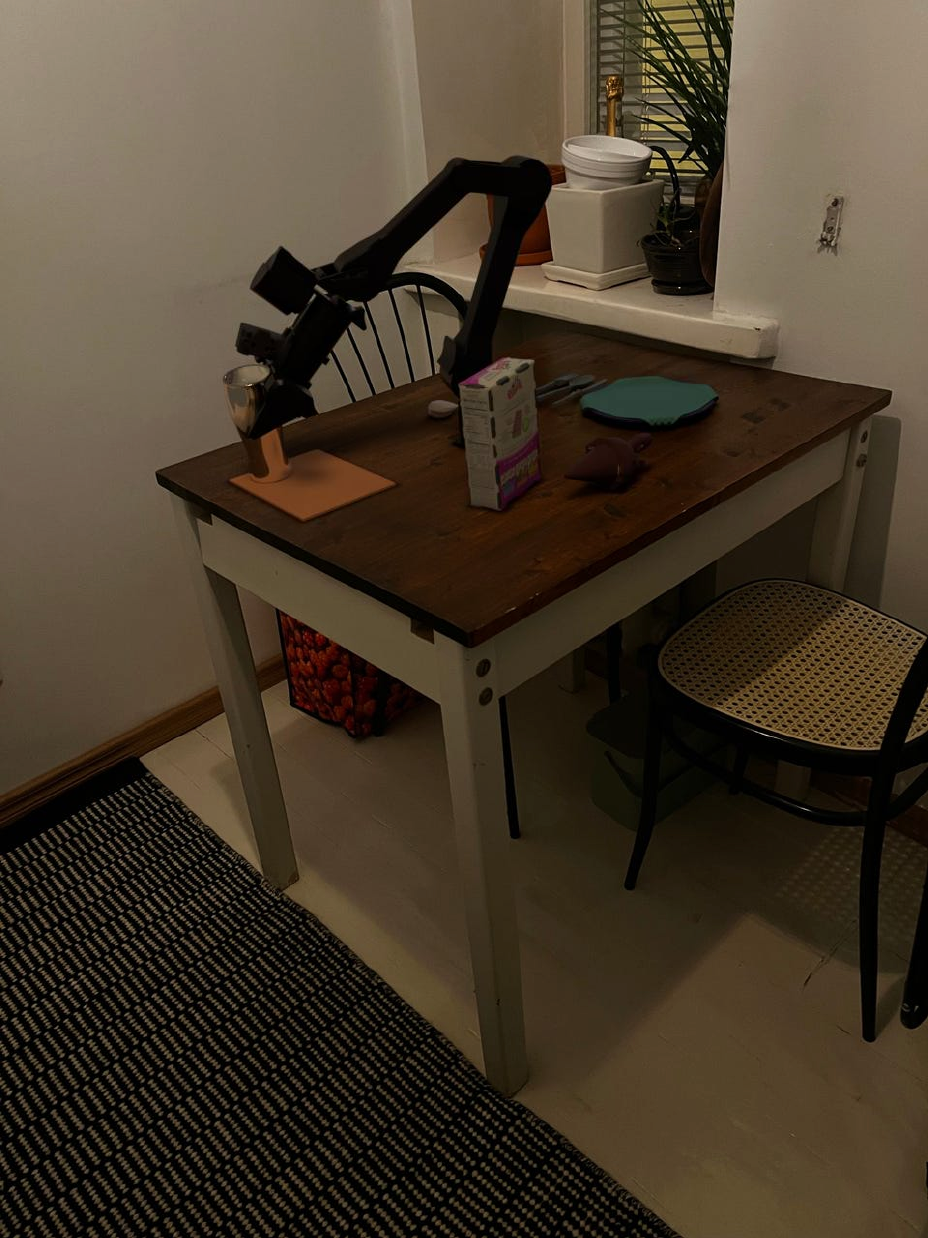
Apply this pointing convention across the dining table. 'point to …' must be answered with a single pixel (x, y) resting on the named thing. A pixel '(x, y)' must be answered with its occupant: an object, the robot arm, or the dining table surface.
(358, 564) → the dining table surface
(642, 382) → the cutlery set
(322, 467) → the cloth
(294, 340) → the robot arm
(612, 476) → the icecream
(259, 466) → the beer glass
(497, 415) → the candy bar box
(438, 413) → the grey rounded piece
